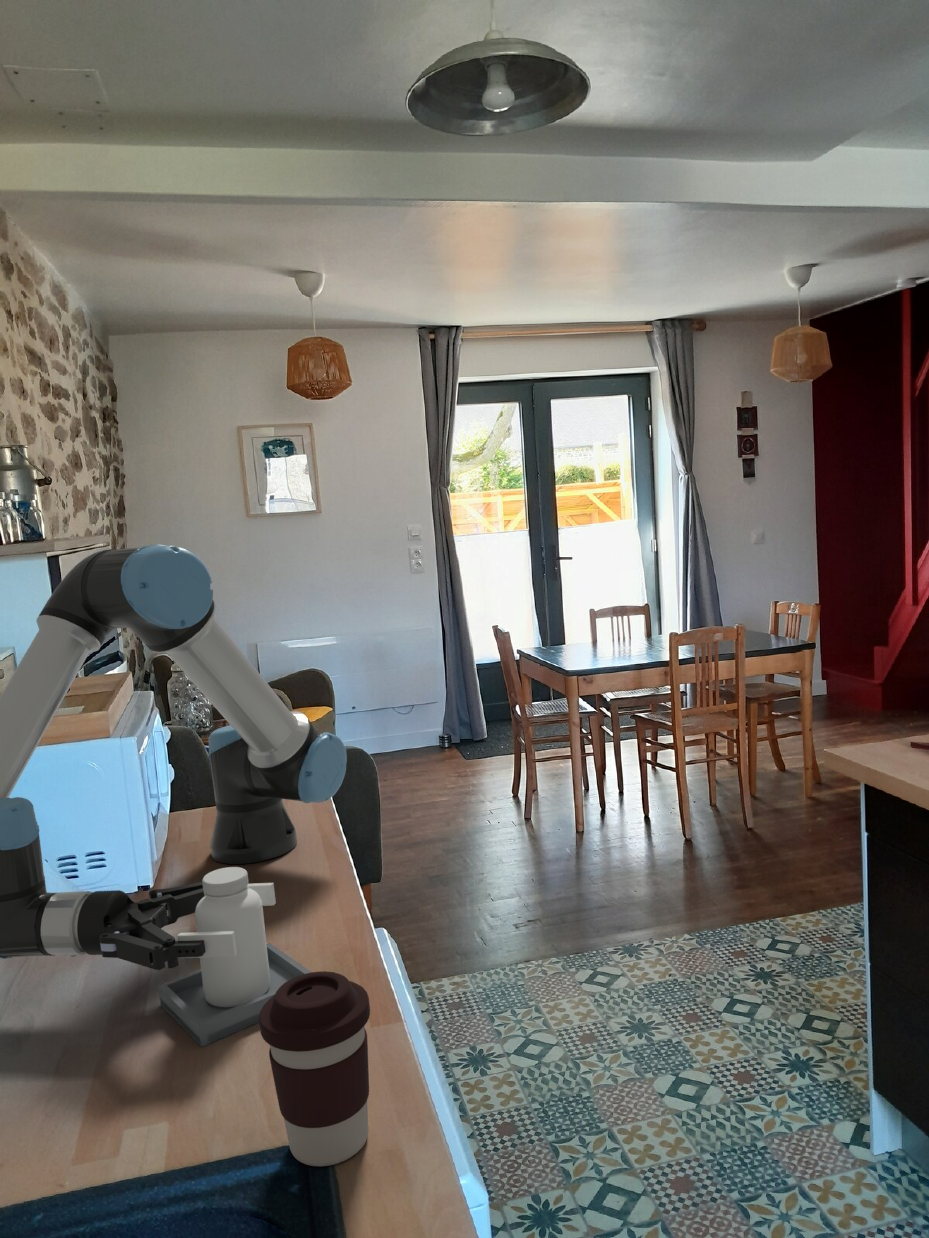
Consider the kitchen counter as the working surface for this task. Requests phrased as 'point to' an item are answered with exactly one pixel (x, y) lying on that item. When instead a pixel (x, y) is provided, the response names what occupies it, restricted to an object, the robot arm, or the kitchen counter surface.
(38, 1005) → the kitchen counter surface
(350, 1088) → the coffee cup
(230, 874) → the pill bottle
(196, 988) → the tray
